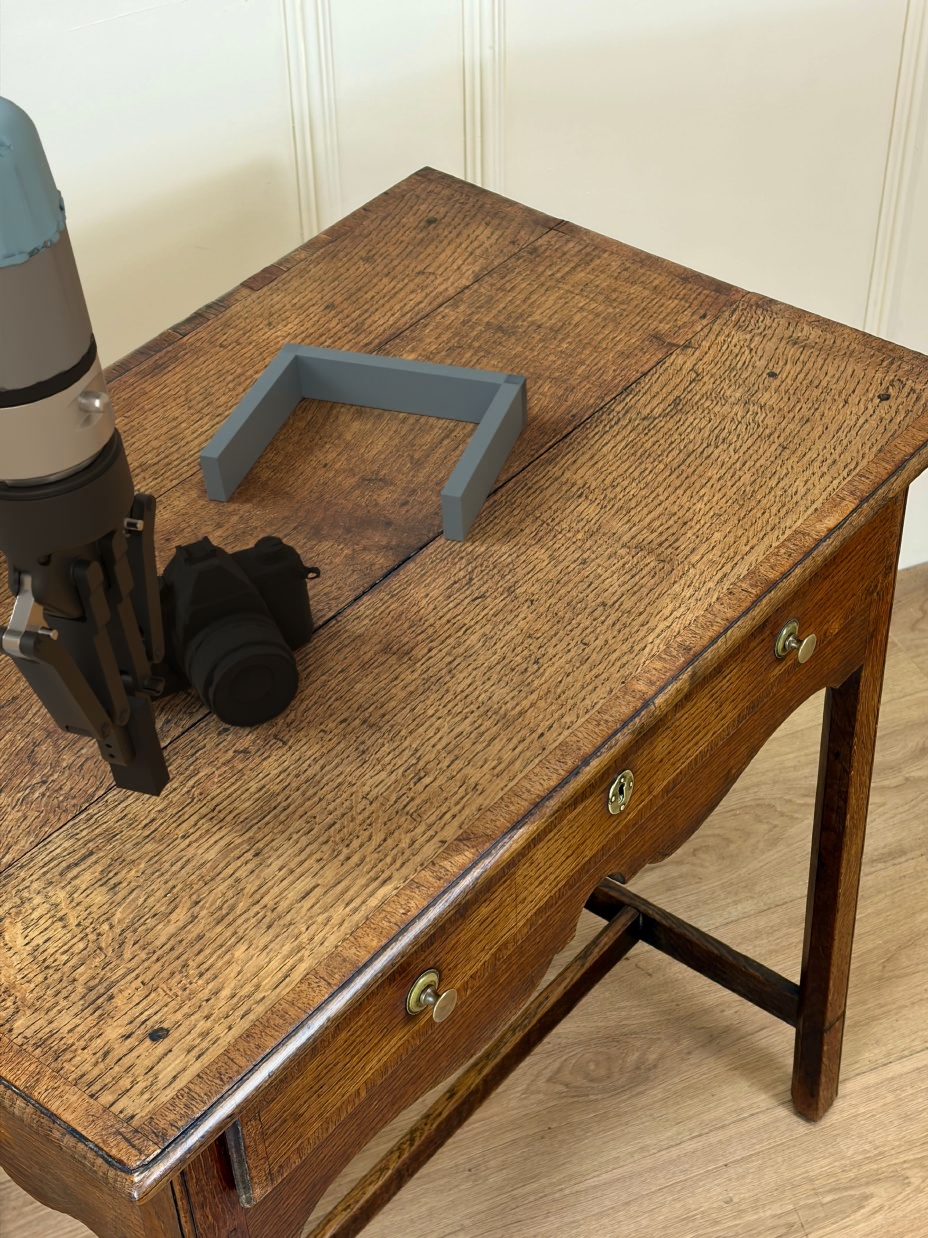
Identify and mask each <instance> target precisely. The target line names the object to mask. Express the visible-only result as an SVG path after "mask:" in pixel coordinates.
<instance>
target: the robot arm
mask: <svg viewBox="0 0 928 1238" xmlns="http://www.w3.org/2000/svg"><path fill="white" fill-rule="evenodd" d="M65 206H66V205H65V200H64V197H63V196H62V191H61V190H59V189H58V187H57V185H56V181H55V178H54V175H53V173H52V170H51V166H50V163H49V161H48V158H47V155H46V152H45V148H44V146H43V142H42V140H41V137H40V135H39V131H38V128H37V127H36V124H35V122H34V121H33V119H32V118H31V117H30V115H29V114H28V113H27V111H25V110H24V109H23V108H22V107H21V106H19V105H17V103H15V102H14V101H12V100H11V99H8V98H6V97H3V96H2V95H0V552H1V553H2V554H3V555H4V557H5V559H6V564H7V586H8V589H9V592H10V593H11V595H12V596H13V597H14V598H15V603H14V606H13V610H12V612H11V616H10V619H9V623H8V626H6V625H1V624H0V654H1V655H4V656H6V657H8V658H10V659H11V660H12V662H13V663H14V665H15V666H16V667H17V669H18V671H19V672H20V673H21V675H22V676H23V678H24V679H25V681H26V682H27V684H28V685H29V686H30V688H31V690H32V691H33V692H34V694H35V695H36V697H37V698H38V699H39V701H40V702H41V703H42V705H43V706H44V708H45V709H46V711H47V712H48V714H49V715H50V716H51V718H52V720H53V721H54V722H55V724H56V726H58V728H59V730H60V731H61V732H63V733H68V734H72V735H76V736H81V737H85V738H86V737H87V738H89V739H90V738H91V739H95V741H96V744H97V747H98V751H99V753H100V757H101V758H102V760H103V761H105V762H106V763H108V765H109V768H110V770H111V774H112V777H113V781H114V784H115V786H116V788H117V789H122V790H125V791H130V792H133V793H134V792H135V793H140V794H143V795H144V794H145V795H149V796H152V797H157V798H159V797H160V796H161V794H162V793H163V791H164V789H166V786H167V785H168V783H169V782H170V780H171V776H170V771H169V769H168V765H167V761H166V758H165V755H164V751H163V748H162V745H161V742H160V738H159V734H158V731H157V728H156V725H157V715H156V711H155V708H154V704H153V702H152V701H151V698H150V695H155V696H159V695H160V694H161V693H162V691H163V688H164V683H165V681H164V678H162V677H157V676H152V674H151V670H150V667H151V665H152V662H153V663H160V662H161V661H162V659H163V657H164V652H165V647H164V637H163V627H162V616H161V606H160V596H159V586H158V576H159V575H158V567H157V557H156V547H155V525H156V514H157V512H156V511H157V498H156V496H155V495H154V494H151V493H144V492H138V491H136V489H135V484H134V479H133V476H132V473H131V469H130V464H129V461H128V457H127V452H126V449H125V445H124V441H123V438H122V435H121V432H120V431H119V428H118V427H117V426H116V415H115V411H114V408H113V404H112V400H111V396H110V392H109V388H108V386H107V382H106V379H105V375H104V371H103V367H102V364H101V361H100V357H99V353H98V345H97V341H96V336H95V334H94V332H93V325H92V322H91V317H90V314H89V309H88V305H87V302H86V297H85V294H84V289H83V286H82V285H83V284H82V282H81V278H80V277H81V276H80V273H79V269H78V265H77V261H76V258H75V253H74V250H73V246H72V242H71V238H70V234H69V231H68V225H67V215H66V207H65ZM140 634H144V636H145V639H142V638H141V635H140Z"/></svg>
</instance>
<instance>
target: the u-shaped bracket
mask: <svg viewBox="0 0 928 1238" xmlns="http://www.w3.org/2000/svg"><path fill="white" fill-rule="evenodd" d="M527 388H528V387H527V376H526V375H523V374H516V373H510V372H509V373H507V372H500V371H492V370H486V369H479V368H471V367H465V366H459V365H450V364H443V363H436V362H430V361H429V362H428V361H421V360H414V359H407V358H406V359H405V358H402V357H401V358H400V357H393V356H385V355H378V354H371V353H364V352H356V351H351V350H350V351H349V350H344V349H335V348H328V347H320V346H314V345H306V344H300V343H292V342H285V344H284V345H283V346H282V348H281V349H280V350H279V351H278V352H277V354H275V357H273V359H272V360H271V361H270V363H269V364H268V365H267V367H266V368H265V369H264V370H263V372H262V373H261V374H260V375H259V376H258V378H257V380H255V382H254V383H253V385H252V386H251V387H250V388H249V389H248V391H247V393H245V395H244V396H243V397H242V398H241V400H240V401H239V402H238V404H237V405H236V406H235V408H234V409H233V410H232V411H231V412H230V414H229V416H227V418H226V419H225V421H224V422H223V423H222V424H221V426H219V428H218V430H216V432H215V433H214V435H213V436H212V437H211V439H210V440H209V441H208V442H207V444H206V445H205V446H204V448H203V449H202V450H201V451H200V453H199V454H198V457H199V462H200V466H201V471H202V475H203V481H204V485H205V489H206V494H207V498H208V500H212V501H217V502H223V503H228V501H229V499H230V498H231V497H232V495H233V494H234V493H235V491H236V490H237V488H238V487H239V486H240V485H241V483H242V482H243V480H244V479H245V478H246V476H247V475H248V473H249V472H250V470H251V469H252V468H253V466H254V465H255V463H257V461H258V459H259V458H260V457H261V455H263V453H264V452H265V450H266V449H267V448H268V446H269V444H270V443H271V442H272V441H273V439H274V438H275V436H276V435H277V434H278V432H279V431H280V430H281V428H282V427H283V425H284V424H285V423H286V421H287V420H288V418H289V417H290V416H291V415H292V413H293V412H294V411H295V409H296V407H297V406H298V405H299V403H300V402H301V400H302V399H303V398H304V399H311V400H318V401H323V402H324V401H325V402H331V403H332V402H333V403H339V404H345V405H352V406H358V407H359V406H360V407H364V408H372V409H378V410H384V411H385V410H386V411H391V412H399V413H406V414H413V415H420V416H425V417H434V418H440V419H446V420H454V421H460V422H465V423H466V422H467V423H474V424H478V426H477V428H476V429H475V431H474V433H473V435H472V437H471V438H470V440H469V443H468V444H467V445H466V448H465V449H464V451H463V453H462V454H461V456H460V458H459V460H458V462H457V463H456V465H455V466H454V469H453V470H452V472H451V474H450V476H449V478H448V479H447V481H446V483H445V484H444V487H443V488H442V490H441V492H440V504H441V515H442V516H441V517H442V527H443V528H442V529H443V539H444V540H450V541H456V542H462V543H463V542H465V540H466V538H467V536H468V535H469V532H470V531H471V529H472V527H473V524H474V523H475V521H476V519H477V517H478V515H479V513H480V512H481V509H482V508H483V505H484V504H485V502H486V500H487V499H488V496H489V494H490V492H491V490H492V489H493V487H494V484H495V483H496V481H497V478H498V477H499V475H500V473H501V471H502V469H503V467H504V466H505V463H506V461H507V459H508V458H509V456H510V454H511V452H512V450H513V448H514V447H515V444H516V443H517V440H518V439H519V437H520V435H521V433H522V431H523V429H524V427H525V425H526V423H527V421H528V393H527V392H528V391H527V390H528V389H527Z"/></svg>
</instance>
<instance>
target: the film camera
mask: <svg viewBox="0 0 928 1238" xmlns="http://www.w3.org/2000/svg"><path fill="white" fill-rule="evenodd" d="M174 548H175V553H174V554H173V556H172V558H171V559H170V560H169V562H168V563H167V564H166V566H165V567H164V569H163V570H162V574H161V575H157V576H158V586H159V596H160V606H161V616H162V627H163V637H164V647H165V652H164V657H163V659H162V661H161V662H160V663H153V662H152V665H151V667H150V670H151V674H152V676H157V677H162V678H164V681H165V683H164V688H163V691H162V693H161V694H160V695H159V696H155V695H150V698H151V701H152V703H153V702H155V701H157V700H160V699H163V698H166V697H168V696H170V695H173V694H176V693H179V692H181V691H184V690H186V689H190V688H193V689H194V690H195V691H196V692H197V693H198V695H199V697H200V698H201V701H202V702H203V704H204V705H205V707H206V708H207V709H208V711H210V712H211V713H212V714H213V715H215V716H216V717H217V719H218V720H219V721H221V722H222V723H223V724H225V725H228V726H231V727H235V728H253V727H256V726H260V725H263V724H265V723H268V722H270V721H272V720H274V719H276V718H277V717H279V716H280V715H281V714H282V713H284V712H285V711H286V710H287V709H288V708H289V706H290V705H291V704H292V702H293V700H294V699H295V696H296V695H297V693H298V690H299V688H300V683H299V681H300V676H301V674H300V672H299V669H298V666H297V661H296V658H295V656H294V652H293V651H294V650H297V649H300V648H302V647H304V646H306V645H307V644H309V643H310V642H311V640H312V637H313V633H314V625H315V624H314V620H313V616H312V610H311V609H312V608H311V600H310V595H309V591H308V582H307V580H310V581H313V580H317V579H320V578H321V572H322V570H321V569H320V567H318V566H310V567H309V566H307V565H305V564H304V563H303V561H302V558H301V555H300V553H299V552H298V551H297V550H296V549H295V547H294V546H292V545H290V544H287V543H285V542H284V541H283V540H282V538H281V537H278V536H275V535H266V536H263V537H261V538H259V539H258V540H257V541H256V542H255V543H254V545H253V546H250V547H248V548H244V549H243V548H242V549H239V550H237V551H233V552H231V553H229V552H228V551H226V550H225V549H224V548H222V547H221V546H218V545H215V544H213V543H212V541H211V539H210V538H209V536H208V535H204V536H202V537H201V539H199V540H197V541H193V542H190V543H188V544H185V545H182V544H178V545H174ZM310 574H313V575H314V574H315V575H314V576H310V577H309V575H310ZM140 635H141V638H142V639H145V636H144V634H140Z"/></svg>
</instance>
